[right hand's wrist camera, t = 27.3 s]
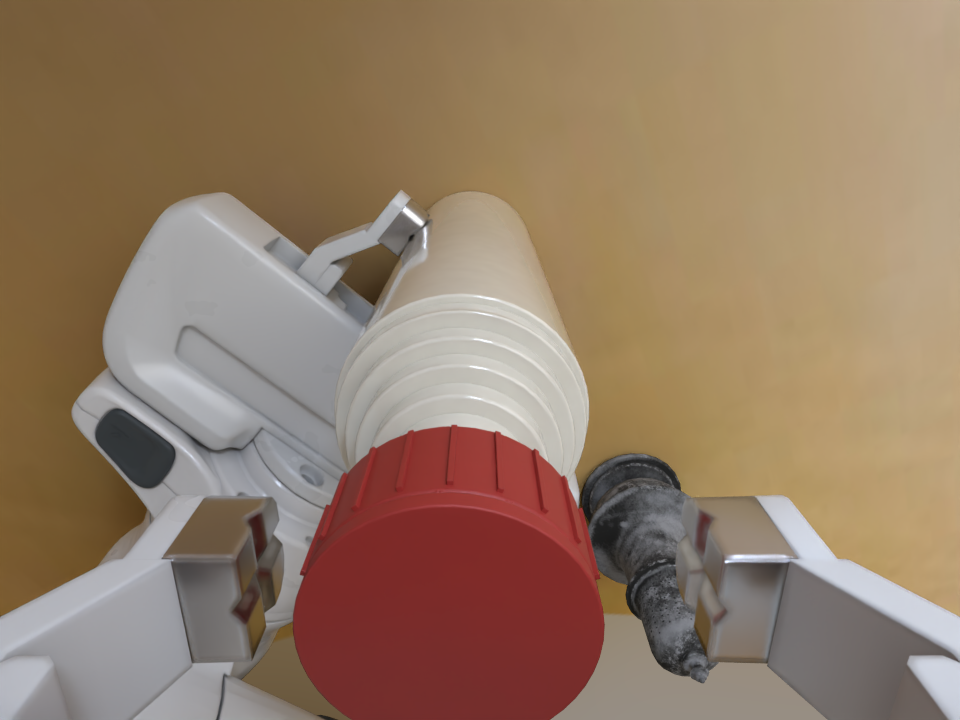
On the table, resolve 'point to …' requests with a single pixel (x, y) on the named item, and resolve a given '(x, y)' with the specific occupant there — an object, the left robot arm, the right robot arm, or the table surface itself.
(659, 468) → the grey stepped cylinder
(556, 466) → the bottle
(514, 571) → the cap
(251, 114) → the table surface
